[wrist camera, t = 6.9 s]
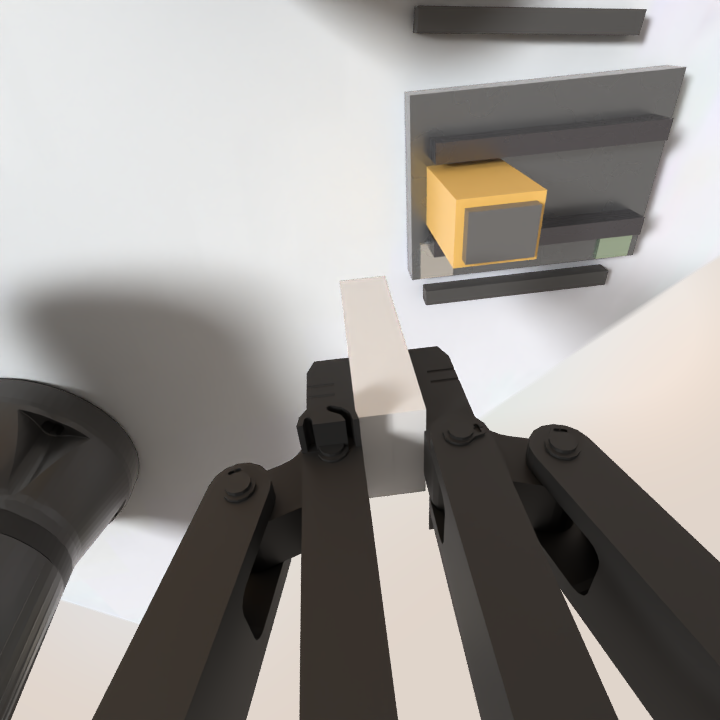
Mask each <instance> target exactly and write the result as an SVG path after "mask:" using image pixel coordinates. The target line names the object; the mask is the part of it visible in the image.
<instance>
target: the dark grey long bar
mask: <svg viewBox="0 0 720 720" xmlns="http://www.w3.org/2000/svg"><path fill="white" fill-rule="evenodd" d="M607 273H608V270H607V269H605V268H604V267H603V266H602V265H600V264H599V265H590V266H582V267H573V268H564V269H555V270H547V271H538V272H529V273H521V274H512V275H503V276H494V277H486V278H477V279H468V280H459V281H451V282H442V283H433V284H424V285H423V299H424V301H425V304H426V305H432V304H441V303H450V302H458V301H467V300H475V299H484V298H493V297H501V296H510V295H519V294H527V293H536V292H544V291H553V290H562V289H570V288H579V287H588V286H596V285H605V281H606V277H607Z"/></svg>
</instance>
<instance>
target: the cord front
mask: <svg viewBox="0 0 720 720" xmlns="http://www.w3.org/2000/svg"><path fill="white" fill-rule="evenodd" d="M646 10H647V9H594V8H527V7H461V6H416V7H415V11H414V28H413V33H492V34H590V35H639V33H640V30H641V27H642V23H643V20H644V17H645V13H646Z"/></svg>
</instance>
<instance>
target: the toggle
mask: <svg viewBox="0 0 720 720" xmlns="http://www.w3.org/2000/svg"><path fill="white" fill-rule="evenodd" d="M546 195H547V189H545V188H544V187H542V186H541V185H539V184H538V183H536V182H535V181H533V180H532V179H530V178H529V177H527V176H526V175H524V174H523V173H521V172H520V171H518V170H517V169H515V168H514V167H512V166H511V165H509V164H508V163H506V162H505V161H503V160H502V159H490V160H481V161H472V162H462V163H453V164H444V165H434V166H427V212H426V225H427V226H428V228H429V230H430V231H431V233H432V235H433V236H434V238H435V240H436V241H437V243H438V244H439V246H440V248H441V249H442V251H443V253H444V254H445V256H446V258H447V259H448V261H449V262H450V264H451V266H452V267H453V268H462V267H470V266H479V265H488V264H497V263H506V262H514V261H523V260H532V259H536V258H537V252H538V246H539V239H540V233H541V227H542V220H543V214H544V207H545V201H546Z"/></svg>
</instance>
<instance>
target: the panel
mask: <svg viewBox="0 0 720 720" xmlns="http://www.w3.org/2000/svg"><path fill="white" fill-rule="evenodd" d="M685 70H686V67H679V66H669V65H665V66H656V67H646V68H636V69H626V70H616V71H606V72H597V73H587V74H577V75H567V76H557V77H547V78H538V79H528V80H518V81H508V82H498V83H488V84H479V85H469V86H459V87H449V88H439V89H429V90H420V91H410V92H405V143H406V197H407V251H408V271H409V274H410V276H411V278H412V280H416V279H425V278H433V277H442V276H451V275H459V274H468V273H477V272H486V271H494V270H503V269H512V268H521V267H530V266H538V265H547V264H556V263H565V262H573V261H582V260H591V259H600V258H609V257H617V256H626V255H633V251H634V248H635V244H636V241H637V237H638V235H639V234H640V232H641V228H642V225H643V222H644V218H645V217H643V216H644V213H645V209H646V206H647V202H648V199H649V195H650V192H651V188H652V185H653V181H654V178H655V175H656V171H657V168H658V164H659V161H660V157H661V154H662V150H663V147H664V143H665V140H667V138H668V135H669V132H670V128H671V125H672V121H673V118H672V115H673V112H674V108H675V105H676V101H677V98H678V94H679V91H680V87H681V84H682V80H683V77H684V73H685ZM490 159H502V160H503V161H505V162H506V163H508V164H509V165H511V166H512V167H514V168H515V169H517V170H518V171H520V172H521V173H523V174H524V175H526V176H527V177H529V178H530V179H532V180H533V181H535V182H536V183H538V184H539V185H541V186H542V187H544V188H545V189H547V195H546V201H545V207H544V214H543V220H542V227H541V233H540V239H539V246H538V252H537V258H536V259H532V260H523V261H514V262H506V263H497V264H488V265H479V266H470V267H462V268H453V267H452V266H451V264H450V262H449V261H448V259H447V258H446V256H445V254H444V253H443V251H442V249H441V248H440V246H439V244H438V243H437V241H436V240H435V238H434V236H433V235H432V233H431V231H430V230H429V228H428V226H427V225H426V212H427V166H434V165H444V164H453V163H462V162H472V161H481V160H490Z"/></svg>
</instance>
